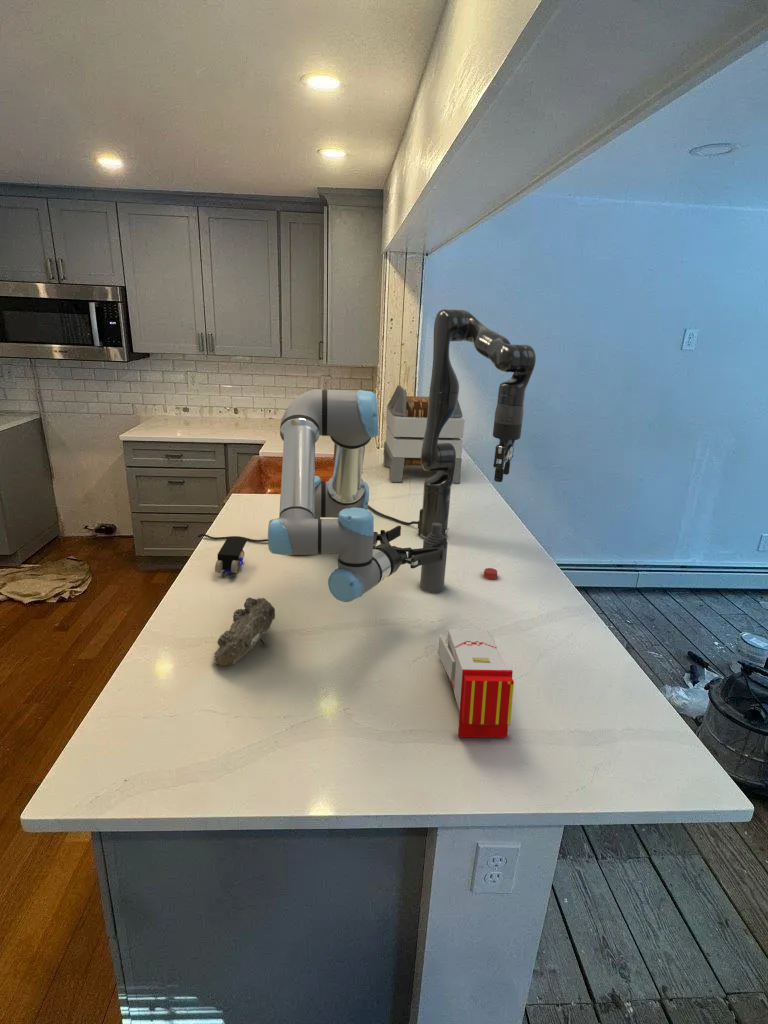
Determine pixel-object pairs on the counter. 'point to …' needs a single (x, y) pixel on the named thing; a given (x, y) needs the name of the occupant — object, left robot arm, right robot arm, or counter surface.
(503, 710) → the toy
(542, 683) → the counter surface
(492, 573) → the cap
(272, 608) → the fossil
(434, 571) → the bottle
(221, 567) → the black toy car
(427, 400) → the grey boxy piece
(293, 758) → the counter surface
